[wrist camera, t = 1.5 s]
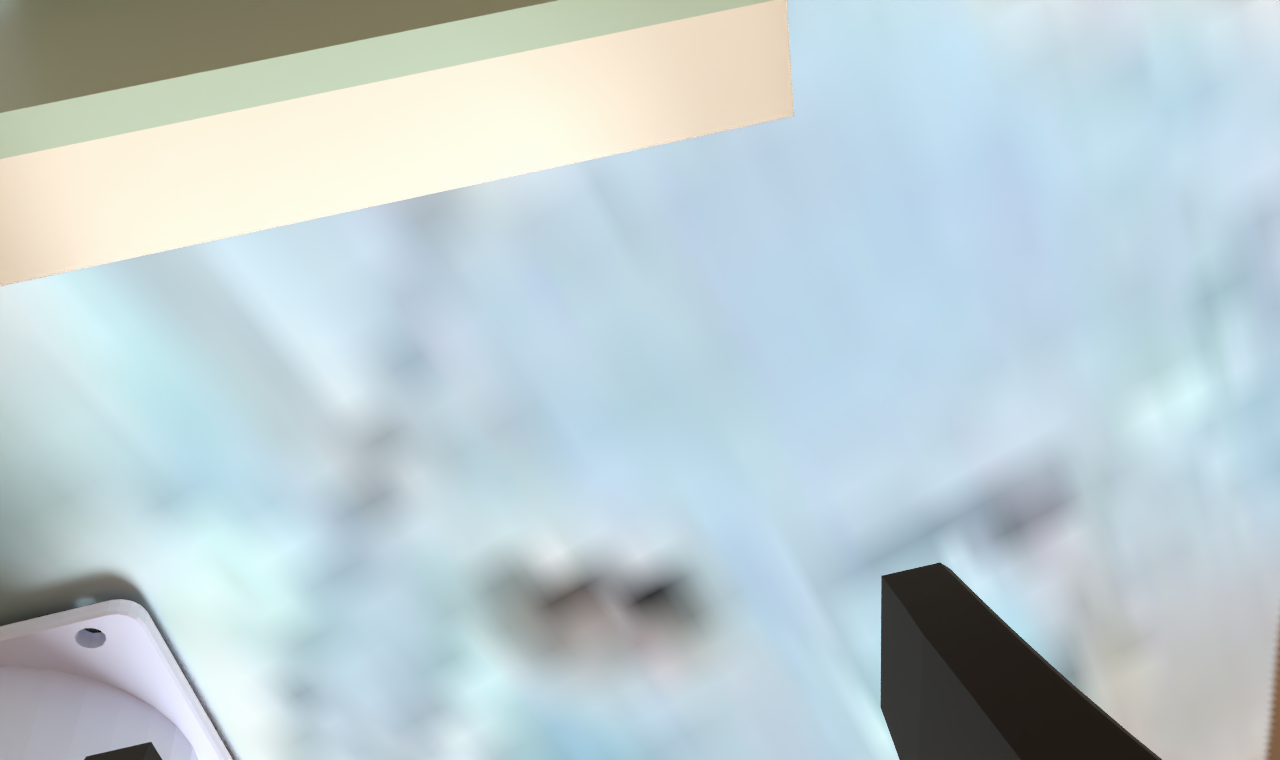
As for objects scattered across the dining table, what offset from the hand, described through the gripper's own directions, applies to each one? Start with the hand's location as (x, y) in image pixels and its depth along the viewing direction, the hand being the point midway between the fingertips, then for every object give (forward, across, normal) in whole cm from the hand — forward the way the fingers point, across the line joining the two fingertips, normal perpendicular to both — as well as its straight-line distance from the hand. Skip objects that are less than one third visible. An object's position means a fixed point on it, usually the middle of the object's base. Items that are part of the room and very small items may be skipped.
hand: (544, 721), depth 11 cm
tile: (+10, +1, -5) cm, 11 cm away
